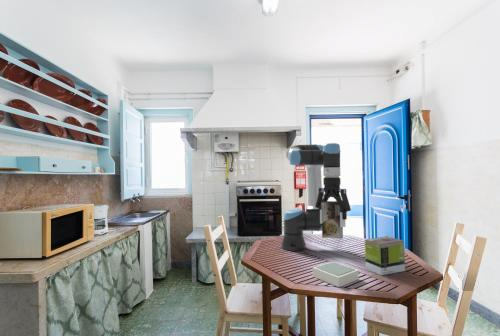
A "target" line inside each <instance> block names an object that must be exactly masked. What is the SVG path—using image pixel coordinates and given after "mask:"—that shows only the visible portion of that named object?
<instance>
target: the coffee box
mask: <svg viewBox="0 0 500 336" xmlns="http://www.w3.org/2000/svg"><path fill="white" fill-rule="evenodd" d="M321 206H322V231H321V237H322V238H324V239H326V238H328V239H341V240H342V239H344V229H343V228H344V227H340V212H341V209H340V207H339V205H338V203H337V201H336V200H334V201H333V200H331V201H330V200H328V201H322V203H321Z"/></svg>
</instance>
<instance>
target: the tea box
mask: <svg viewBox="0 0 500 336" xmlns="http://www.w3.org/2000/svg"><path fill="white" fill-rule="evenodd" d="M364 246H365V247H364V248H365V249H364V252H365V269H366V270H368V271H370V272H371V273H372V272H373V273H375V274H377V275H379V276H386V275H390V274H396V273H400V272H405V271H406V260H405V258H406V257H405V256H406V255H405V240H402V239H398V238H395V237H391V236H381V237H373V238H367V239H366V238H365V239H364Z"/></svg>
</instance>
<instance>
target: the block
mask: <svg viewBox="0 0 500 336" xmlns="http://www.w3.org/2000/svg"><path fill="white" fill-rule="evenodd" d="M359 276H360V275H359V270H358V269H356V268H353V267H352V266H347V265H344V264H341V263H339V262H336V261H329V262H327V263H323V264H320V265H316V266H314V267H312V278H315V279H319V280H321V281H323V282H325V283H327V284H330V285H333V286H334V287H337V288H340V287H342V286H343V287H344V286H345V285H348V284H351V283H353V282H355V281H357V280H359Z"/></svg>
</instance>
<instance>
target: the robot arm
mask: <svg viewBox="0 0 500 336" xmlns="http://www.w3.org/2000/svg"><path fill="white" fill-rule="evenodd" d="M285 153H286V159H287V160H288V161H289V164H290V166H304V167H305V168H306V170H307V173H306V174H307V201H308V202H307V205H308V206H307V207H306V208H305V211H304V210H303V208H302V209H301V208H294V209H293V208H292V209H289V210H286V211H285V212H284V213H283V237H282V241H281V243H280V245H281V246H280V247H281V249H283V250H286V251H290V252H291V251H292V252H299V251H305V250H306V249H307V244H306V241H305V237H304V232H308V231H311V232H312V231H313V232H322V206H321V203H322V201H329V199H330V198H334V199H335V201H337V203H338V205H339V207H340V209H341V212H340V227H343V228H345V227H346V220H348V219H347V218H348V217H347V216H348V215H347V214H348V212H351V211H352V209H351V205H350V203H349V199H348V195H347V189H346V188H341V147H340V144H339V143H336V142H335V143H334V142H333V143H332V142H331V143H324V144H296V145H293V146H290V147H289V148H288V149H287V151H286V152H285ZM322 168H323V171H322ZM322 173H323V174H322ZM322 175H323V177H322ZM322 178H323V180H322ZM322 182H323V184H322ZM322 185H323V186H324V187H322Z"/></svg>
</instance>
